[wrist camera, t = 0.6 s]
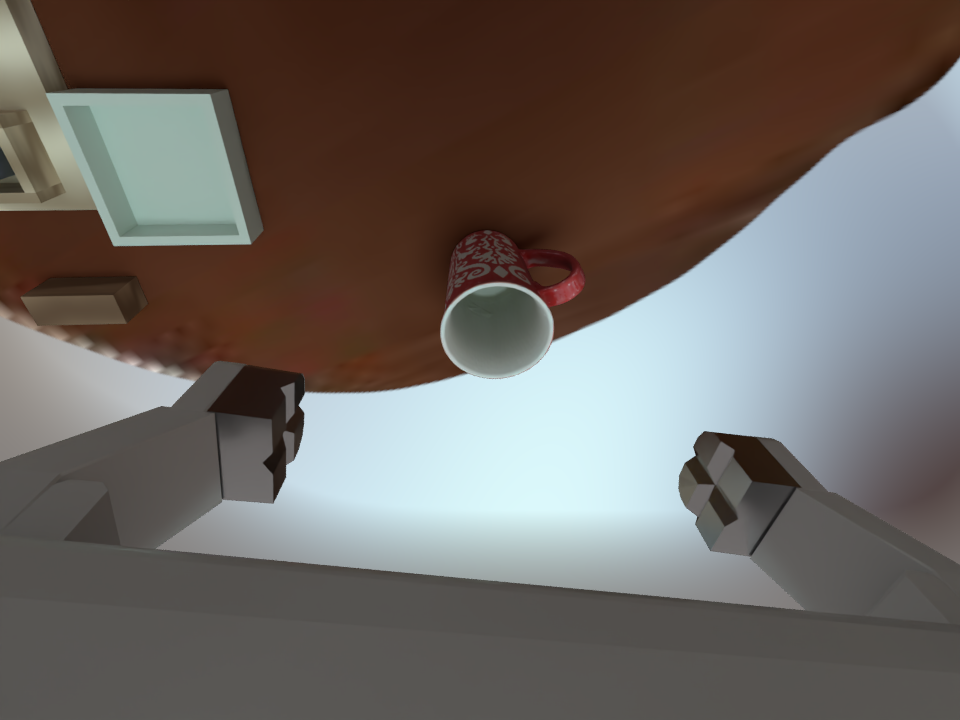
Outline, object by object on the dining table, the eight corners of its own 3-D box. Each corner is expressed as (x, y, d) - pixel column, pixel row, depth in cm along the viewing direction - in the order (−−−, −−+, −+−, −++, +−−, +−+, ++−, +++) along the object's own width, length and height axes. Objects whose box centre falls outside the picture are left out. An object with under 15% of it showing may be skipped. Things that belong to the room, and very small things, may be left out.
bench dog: (50, 277, 46) (20, 296, 43) (136, 276, 46) (113, 295, 43) (65, 305, 48) (37, 325, 44) (148, 303, 48) (126, 323, 45)
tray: (76, 88, 37) (45, 93, 34) (227, 89, 38) (210, 94, 35) (135, 231, 44) (113, 245, 41) (263, 230, 45) (251, 244, 42)
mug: (462, 316, 52) (468, 394, 40) (425, 244, 47) (420, 310, 36) (573, 271, 49) (611, 340, 38) (545, 190, 44) (580, 242, 33)
